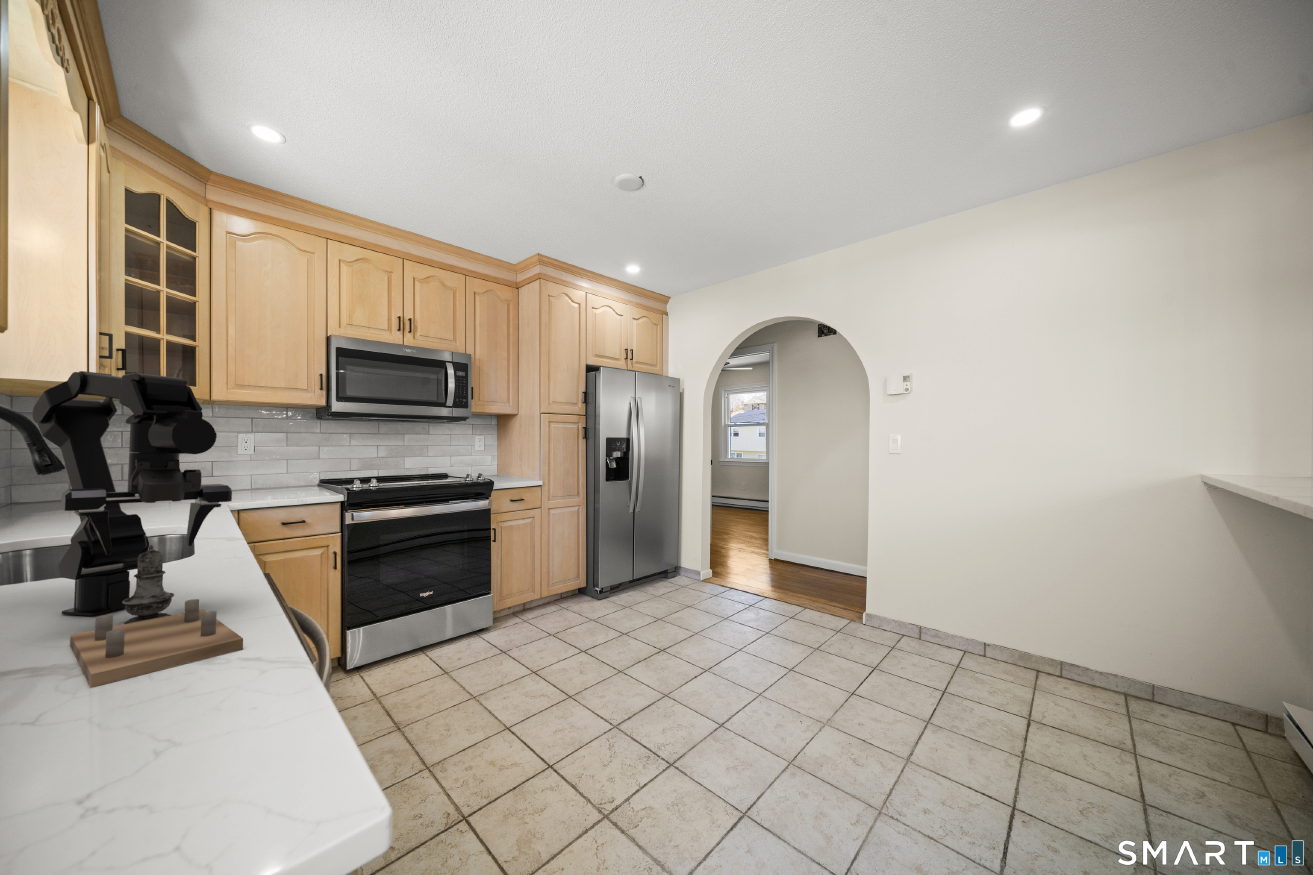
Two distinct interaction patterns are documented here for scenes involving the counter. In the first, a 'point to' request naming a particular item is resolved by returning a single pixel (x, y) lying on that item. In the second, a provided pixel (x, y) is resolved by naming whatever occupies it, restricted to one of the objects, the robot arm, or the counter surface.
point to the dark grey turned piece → (148, 589)
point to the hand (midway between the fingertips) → (150, 549)
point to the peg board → (151, 644)
